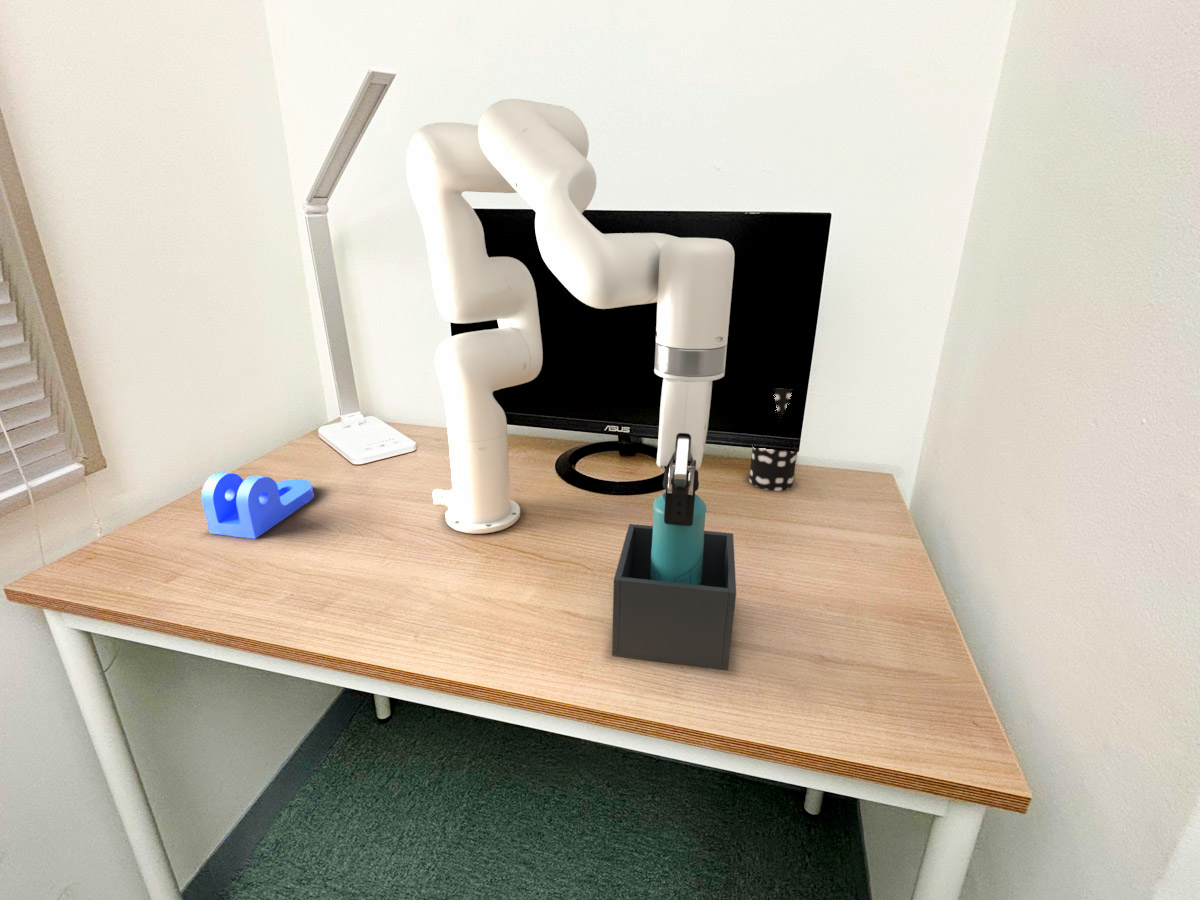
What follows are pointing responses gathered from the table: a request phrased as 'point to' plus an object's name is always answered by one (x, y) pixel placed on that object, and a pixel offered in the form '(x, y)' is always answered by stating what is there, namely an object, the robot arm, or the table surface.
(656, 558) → the beverage bottle
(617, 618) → the open box
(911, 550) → the table surface
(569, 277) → the robot arm
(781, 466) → the white-spotted black cylinder
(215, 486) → the bracket
